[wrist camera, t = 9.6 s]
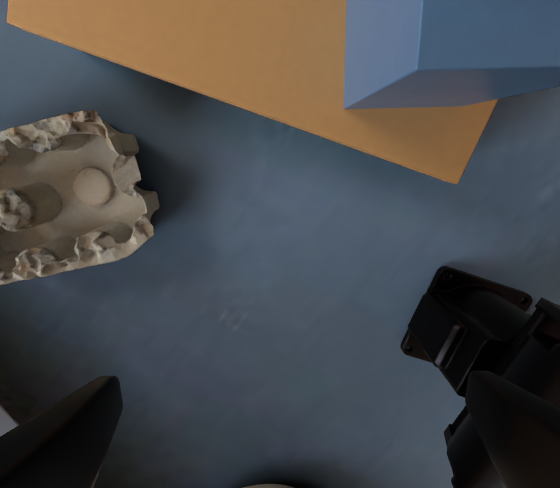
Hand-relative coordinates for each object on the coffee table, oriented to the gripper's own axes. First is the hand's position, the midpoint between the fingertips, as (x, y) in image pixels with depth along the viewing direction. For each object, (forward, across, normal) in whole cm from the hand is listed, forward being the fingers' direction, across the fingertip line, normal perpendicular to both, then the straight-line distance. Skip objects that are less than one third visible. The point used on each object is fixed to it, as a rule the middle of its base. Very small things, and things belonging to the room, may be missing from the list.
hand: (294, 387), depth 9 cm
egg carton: (+13, +13, -3) cm, 19 cm away
